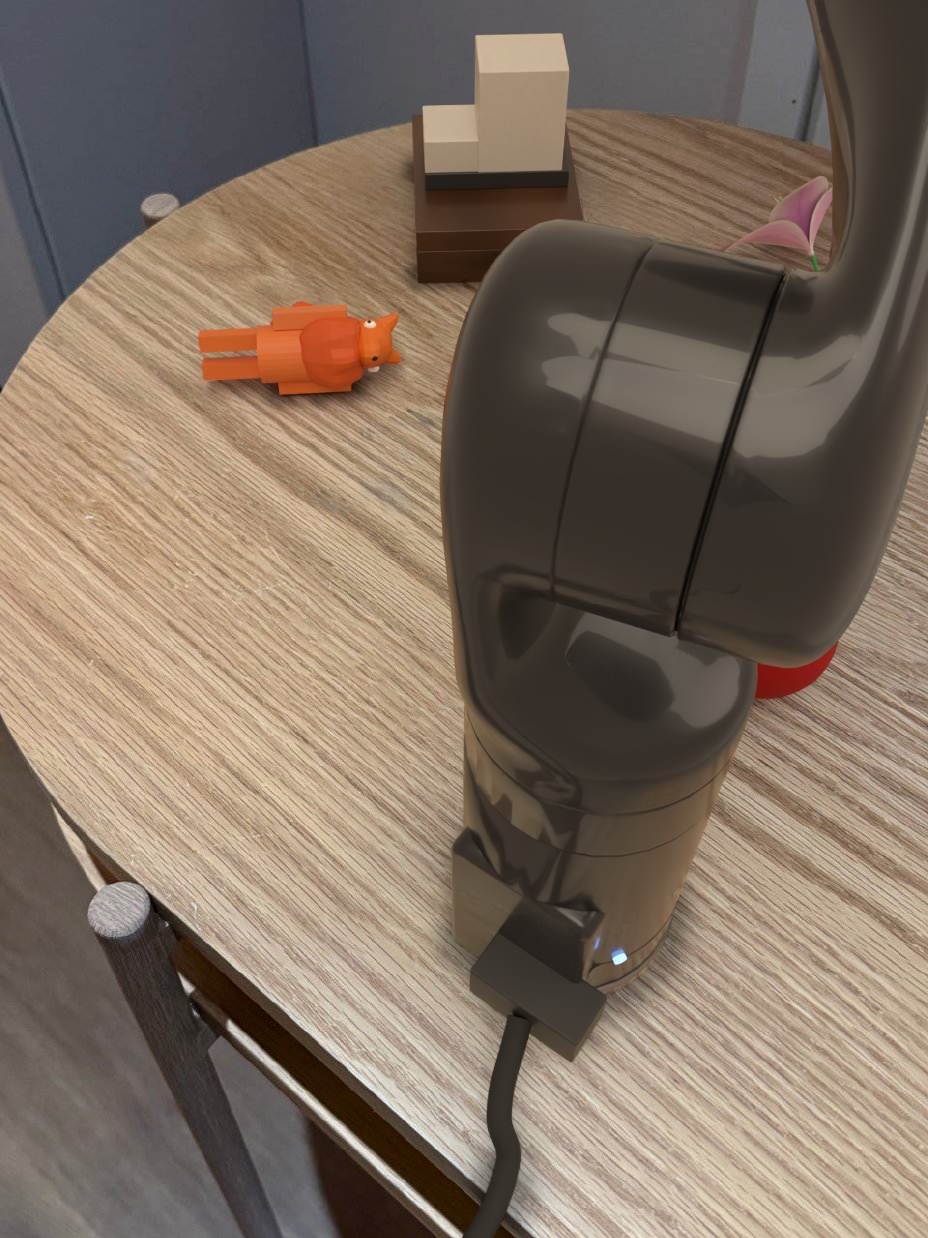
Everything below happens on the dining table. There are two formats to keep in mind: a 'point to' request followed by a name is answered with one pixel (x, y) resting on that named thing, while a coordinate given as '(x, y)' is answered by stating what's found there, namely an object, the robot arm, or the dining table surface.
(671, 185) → the dining table surface
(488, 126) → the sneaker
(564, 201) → the brown lidded case
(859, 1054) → the dining table surface
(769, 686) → the christmas ornament
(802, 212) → the lily
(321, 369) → the orange toy figure
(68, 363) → the dining table surface
